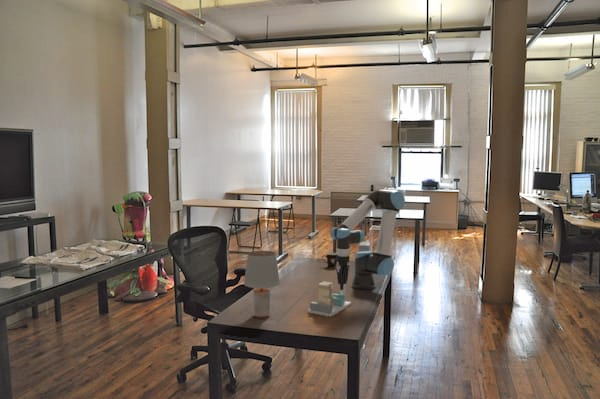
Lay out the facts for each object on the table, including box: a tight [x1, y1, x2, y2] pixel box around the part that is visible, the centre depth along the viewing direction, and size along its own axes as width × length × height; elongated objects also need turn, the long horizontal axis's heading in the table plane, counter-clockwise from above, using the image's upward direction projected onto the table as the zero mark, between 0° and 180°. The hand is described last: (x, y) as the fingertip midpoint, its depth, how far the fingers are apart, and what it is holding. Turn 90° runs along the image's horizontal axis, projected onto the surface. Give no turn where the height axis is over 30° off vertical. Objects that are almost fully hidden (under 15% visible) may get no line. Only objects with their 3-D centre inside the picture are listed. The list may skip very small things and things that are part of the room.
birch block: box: [318, 281, 334, 308], centre depth 268 cm, size 6×6×14 cm
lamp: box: [243, 250, 281, 319], centre depth 258 cm, size 19×19×34 cm
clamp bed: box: [307, 300, 352, 318], centre depth 272 cm, size 25×14×6 cm, turn 148°
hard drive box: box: [358, 241, 371, 252], centre depth 361 cm, size 16×8×20 cm, turn 168°
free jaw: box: [333, 292, 346, 306], centre depth 278 cm, size 8×12×4 cm
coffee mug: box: [321, 252, 338, 268], centre depth 372 cm, size 12×9×10 cm
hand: (342, 294), depth 285 cm, fingers closed
